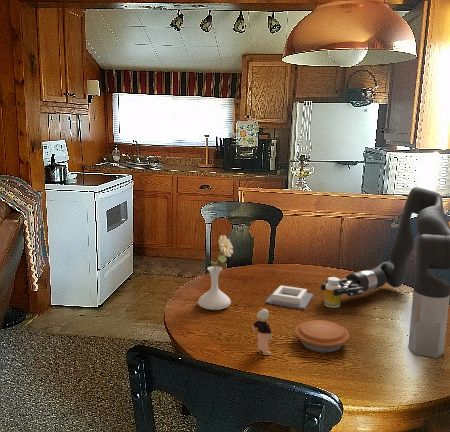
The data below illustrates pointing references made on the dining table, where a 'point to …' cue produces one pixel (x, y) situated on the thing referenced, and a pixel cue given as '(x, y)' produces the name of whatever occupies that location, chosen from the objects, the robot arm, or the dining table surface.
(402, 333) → the dining table surface
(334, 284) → the supplement bottle
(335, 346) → the pie
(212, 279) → the flower in vase
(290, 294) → the socket plate
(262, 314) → the grandmother figurine
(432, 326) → the robot arm
